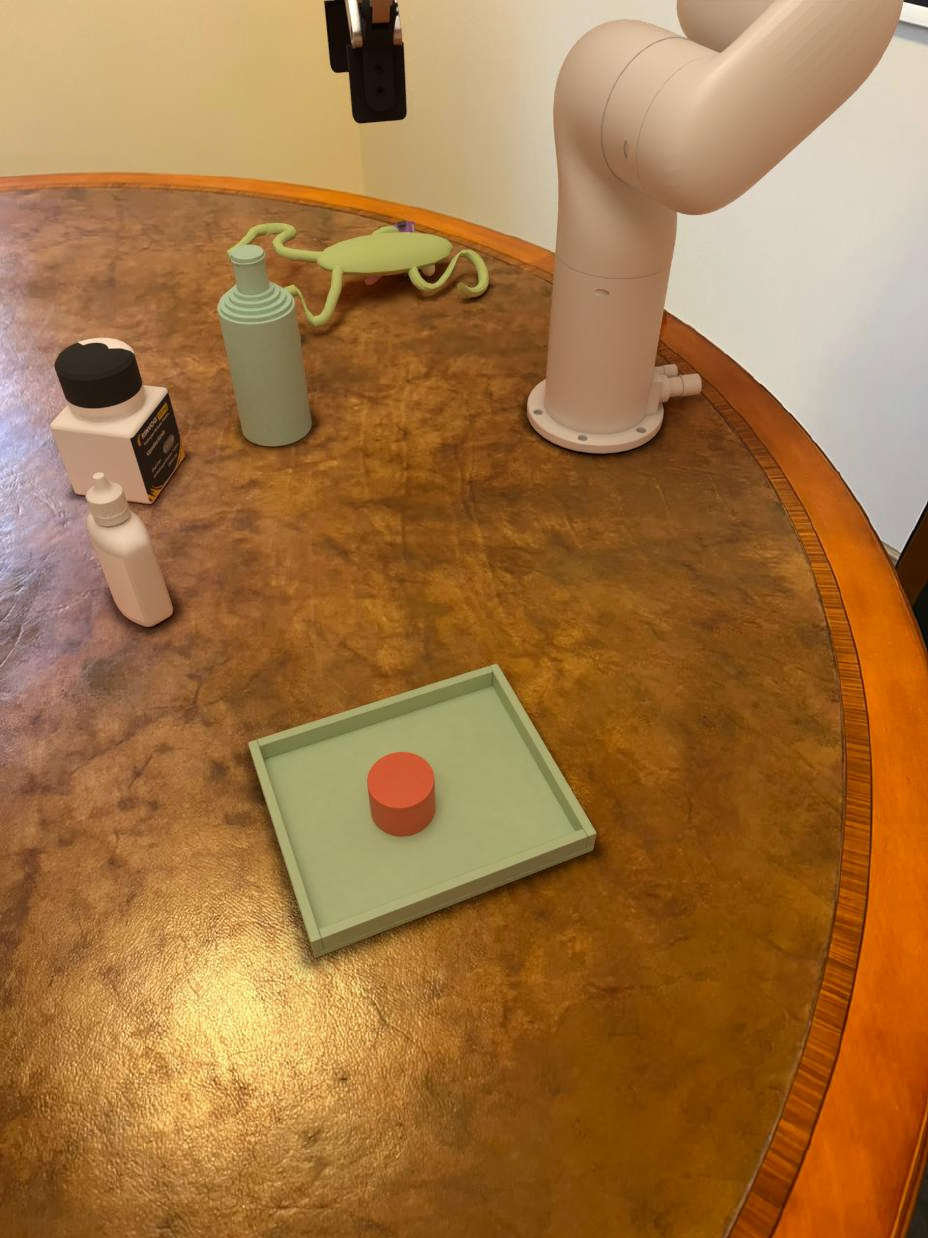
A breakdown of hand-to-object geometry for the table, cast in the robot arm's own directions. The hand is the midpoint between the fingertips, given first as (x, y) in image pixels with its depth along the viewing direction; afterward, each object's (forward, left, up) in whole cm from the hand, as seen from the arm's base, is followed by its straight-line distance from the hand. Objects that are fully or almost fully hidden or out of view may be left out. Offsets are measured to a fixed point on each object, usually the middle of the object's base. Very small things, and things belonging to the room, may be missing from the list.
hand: (366, 93), depth 59 cm
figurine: (-2, -35, -30) cm, 47 cm away
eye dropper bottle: (+21, +11, -30) cm, 38 cm away
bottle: (+9, -10, -30) cm, 33 cm away
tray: (+4, +33, -30) cm, 45 cm away
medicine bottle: (+22, -5, -30) cm, 38 cm away
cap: (+5, +33, -30) cm, 45 cm away
